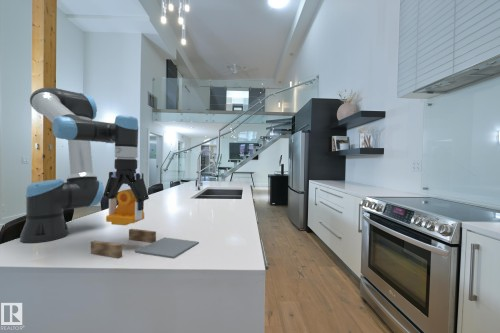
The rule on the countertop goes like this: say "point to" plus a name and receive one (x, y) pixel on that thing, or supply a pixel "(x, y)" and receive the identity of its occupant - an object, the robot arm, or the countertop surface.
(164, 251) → the mat
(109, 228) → the countertop surface
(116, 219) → the bracket
